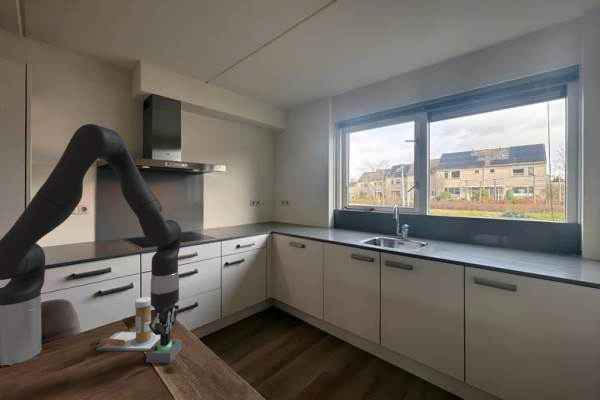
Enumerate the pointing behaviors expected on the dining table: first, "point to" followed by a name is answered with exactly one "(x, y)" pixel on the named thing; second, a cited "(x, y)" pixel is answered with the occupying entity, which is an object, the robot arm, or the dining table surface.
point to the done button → (164, 347)
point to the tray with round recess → (129, 342)
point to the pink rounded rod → (112, 341)
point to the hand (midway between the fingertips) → (165, 344)
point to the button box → (163, 352)
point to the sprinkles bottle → (143, 319)
